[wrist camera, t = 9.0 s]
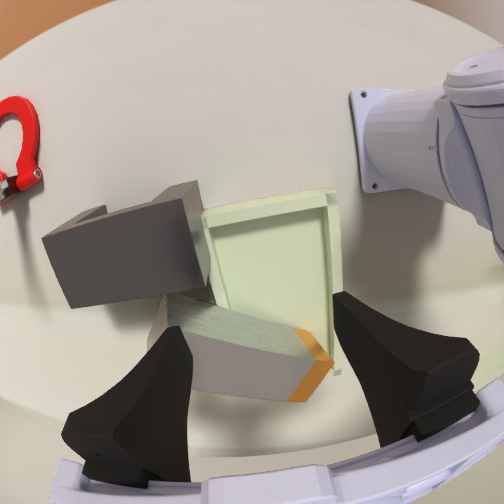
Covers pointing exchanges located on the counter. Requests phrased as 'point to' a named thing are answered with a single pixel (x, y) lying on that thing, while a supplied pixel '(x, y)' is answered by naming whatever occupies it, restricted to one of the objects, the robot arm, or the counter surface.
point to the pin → (243, 351)
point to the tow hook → (27, 170)
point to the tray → (280, 261)
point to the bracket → (132, 250)
